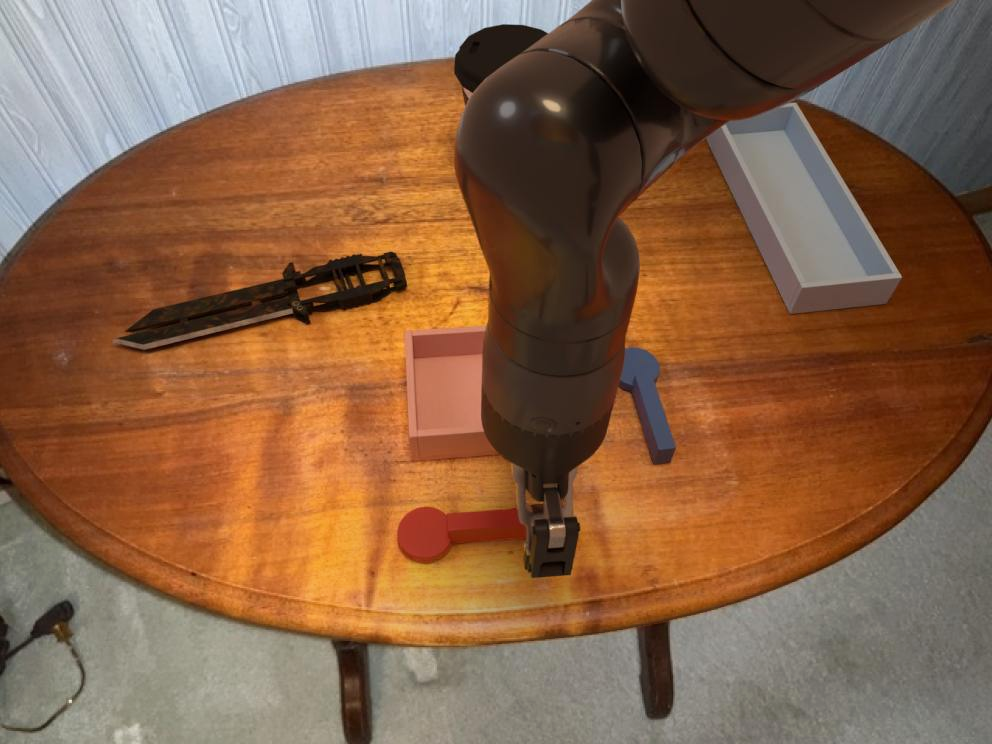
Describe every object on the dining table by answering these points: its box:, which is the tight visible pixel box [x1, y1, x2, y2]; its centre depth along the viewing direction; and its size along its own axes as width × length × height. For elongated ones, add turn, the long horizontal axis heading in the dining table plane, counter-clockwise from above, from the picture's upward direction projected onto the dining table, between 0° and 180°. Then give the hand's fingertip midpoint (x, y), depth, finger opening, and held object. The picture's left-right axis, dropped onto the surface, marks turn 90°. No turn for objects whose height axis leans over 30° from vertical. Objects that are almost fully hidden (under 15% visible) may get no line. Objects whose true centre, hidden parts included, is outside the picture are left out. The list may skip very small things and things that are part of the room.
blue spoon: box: [618, 346, 677, 465], centre depth 66 cm, size 11×4×2 cm, turn 9°
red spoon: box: [396, 506, 525, 564], centre depth 59 cm, size 11×4×2 cm, turn 96°
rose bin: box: [404, 325, 500, 462], centre depth 65 cm, size 14×10×4 cm
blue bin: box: [705, 102, 903, 315], centre depth 79 cm, size 25×9×4 cm, turn 9°
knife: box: [111, 251, 408, 351], centre depth 72 cm, size 25×6×1 cm, turn 105°
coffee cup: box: [453, 23, 549, 107], centre depth 80 cm, size 11×11×12 cm
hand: (531, 508), depth 58 cm, fingers open, 8 cm apart
